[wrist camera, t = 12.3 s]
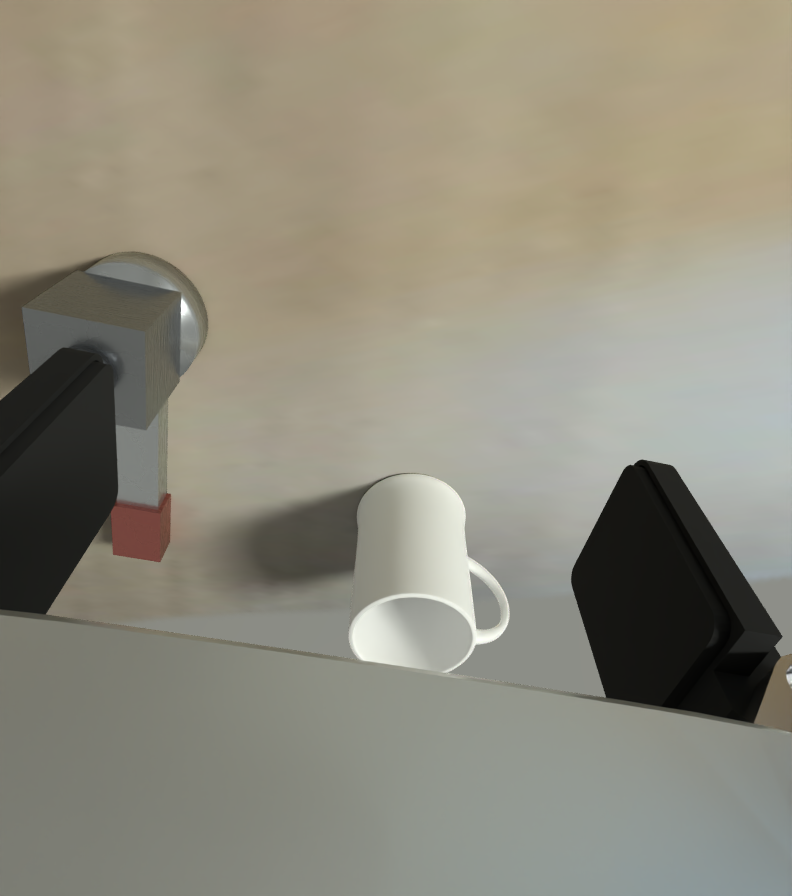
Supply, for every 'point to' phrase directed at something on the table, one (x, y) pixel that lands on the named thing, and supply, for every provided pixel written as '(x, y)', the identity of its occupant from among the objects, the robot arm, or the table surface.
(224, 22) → the table surface
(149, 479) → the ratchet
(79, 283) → the cube with domed knob
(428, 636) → the mug
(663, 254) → the table surface
